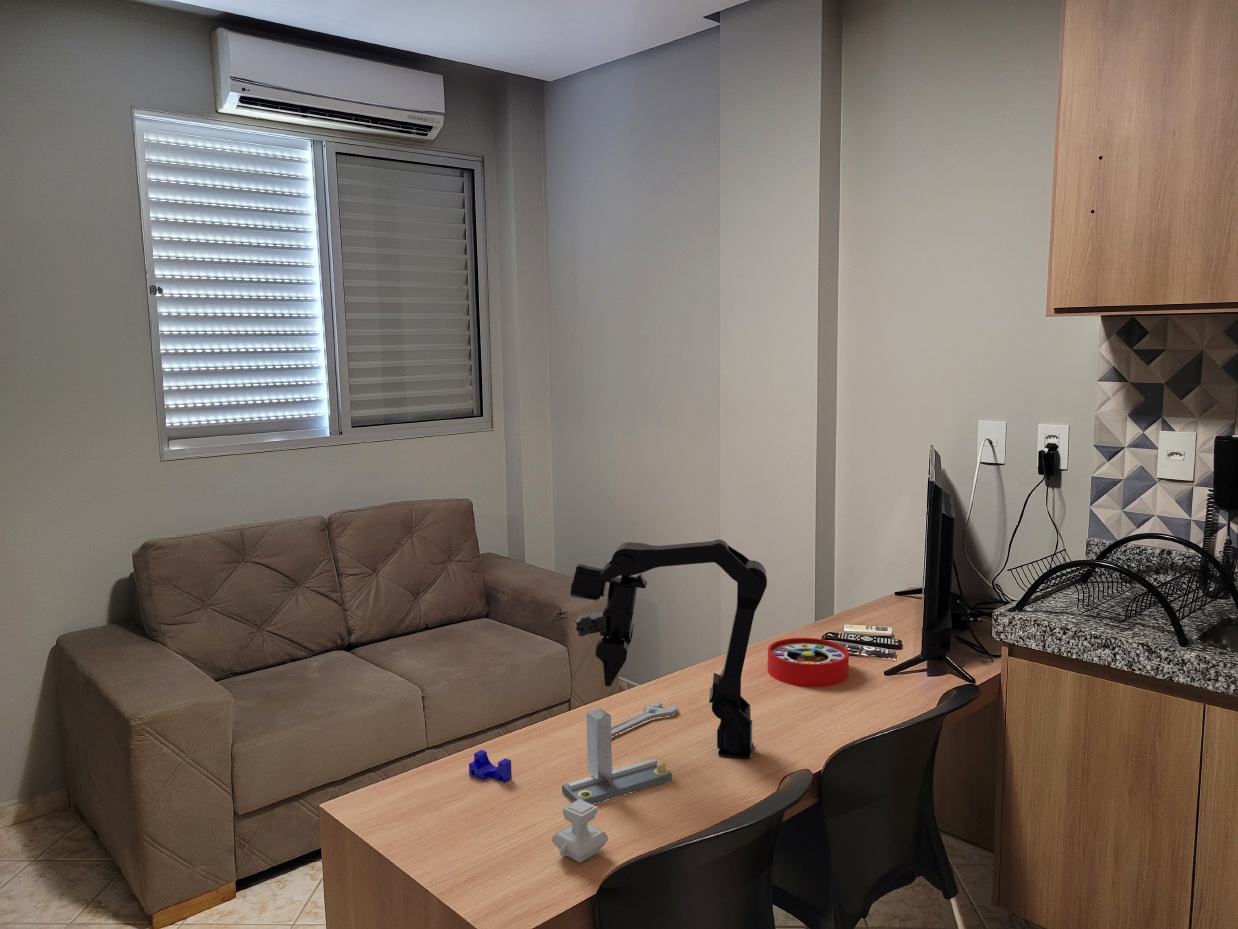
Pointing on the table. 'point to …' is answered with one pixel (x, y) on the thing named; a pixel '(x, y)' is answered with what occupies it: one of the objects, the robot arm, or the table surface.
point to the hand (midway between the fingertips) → (610, 678)
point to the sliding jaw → (599, 745)
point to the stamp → (579, 832)
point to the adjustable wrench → (644, 717)
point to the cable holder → (489, 768)
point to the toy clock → (808, 662)
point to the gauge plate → (618, 782)
